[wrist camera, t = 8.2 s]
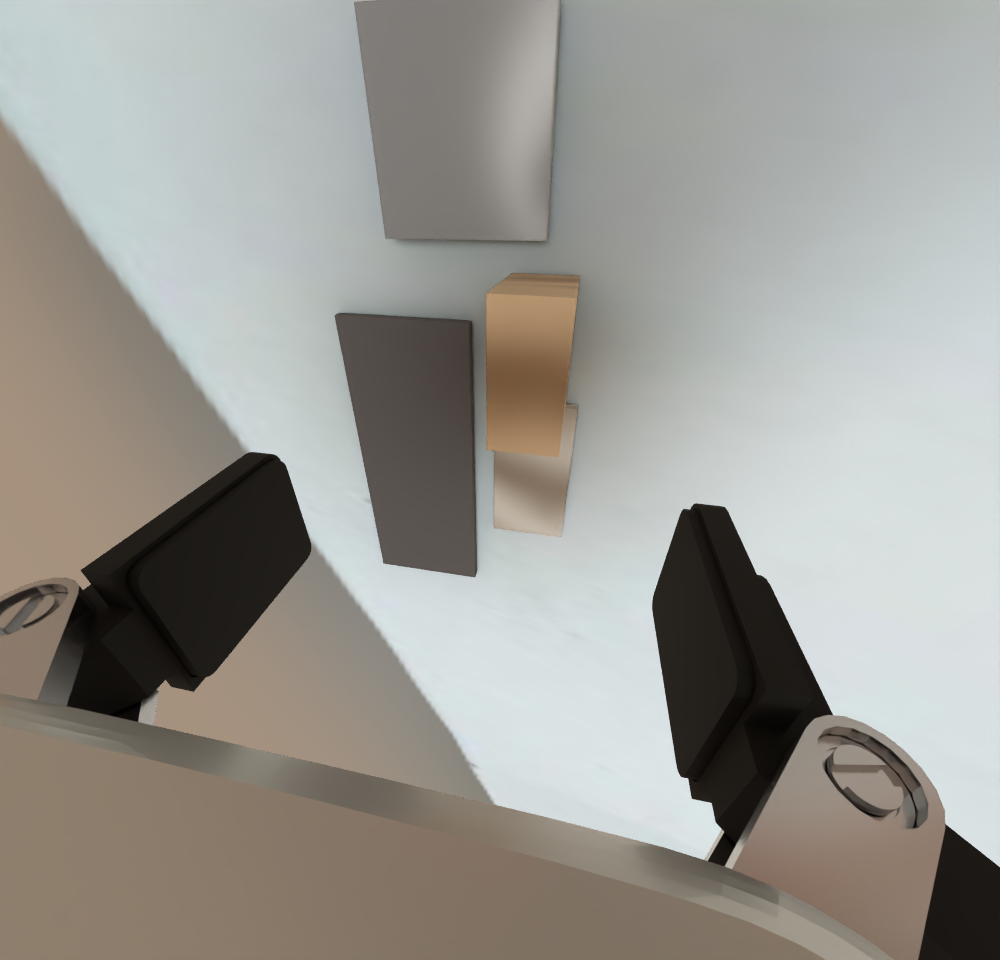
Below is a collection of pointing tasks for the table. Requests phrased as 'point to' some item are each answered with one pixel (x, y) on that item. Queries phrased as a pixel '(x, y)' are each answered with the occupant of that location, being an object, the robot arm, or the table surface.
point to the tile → (462, 115)
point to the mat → (416, 435)
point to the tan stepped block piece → (530, 398)
